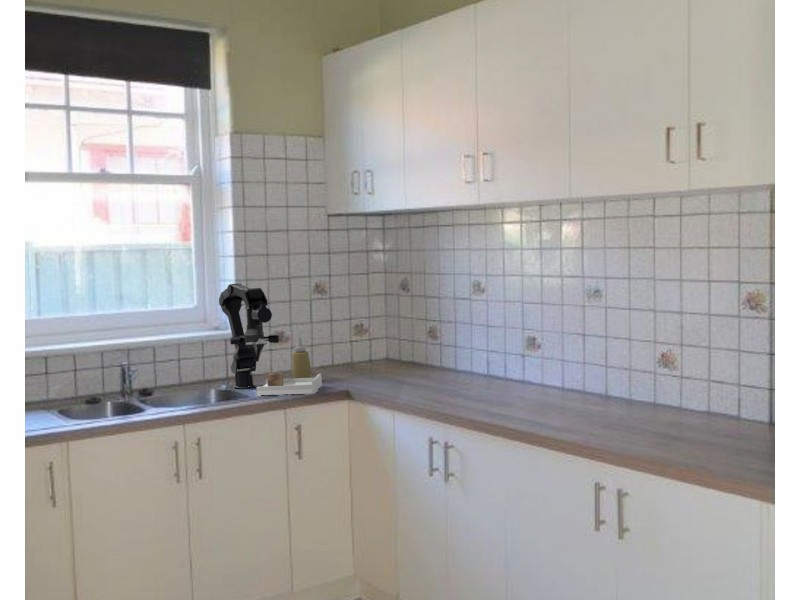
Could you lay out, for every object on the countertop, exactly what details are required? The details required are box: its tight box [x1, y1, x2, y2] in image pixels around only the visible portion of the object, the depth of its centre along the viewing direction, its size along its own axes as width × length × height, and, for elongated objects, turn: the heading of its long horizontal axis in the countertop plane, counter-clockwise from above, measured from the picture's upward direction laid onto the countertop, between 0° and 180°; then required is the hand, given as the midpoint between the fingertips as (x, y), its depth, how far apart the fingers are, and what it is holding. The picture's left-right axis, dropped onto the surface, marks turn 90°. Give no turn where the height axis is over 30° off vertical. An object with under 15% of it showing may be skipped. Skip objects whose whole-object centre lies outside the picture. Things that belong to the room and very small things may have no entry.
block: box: [266, 372, 284, 386], centre depth 332 cm, size 5×5×5 cm
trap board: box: [256, 373, 323, 397], centre depth 332 cm, size 22×16×5 cm
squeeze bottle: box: [291, 337, 312, 379], centre depth 351 cm, size 8×8×18 cm
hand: (257, 361), depth 332 cm, fingers closed
